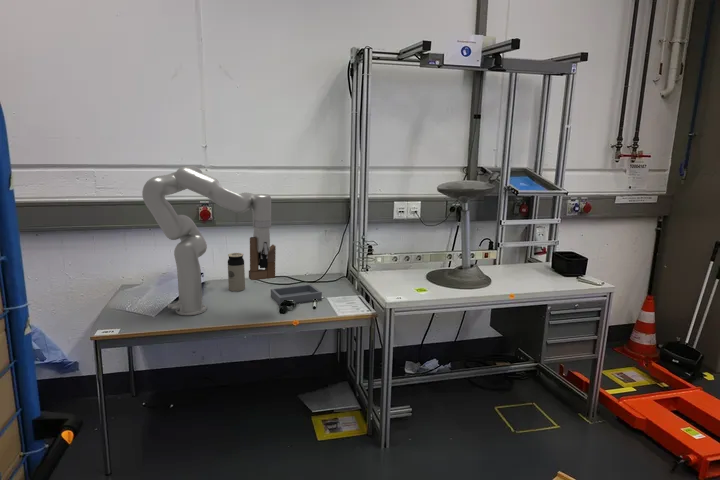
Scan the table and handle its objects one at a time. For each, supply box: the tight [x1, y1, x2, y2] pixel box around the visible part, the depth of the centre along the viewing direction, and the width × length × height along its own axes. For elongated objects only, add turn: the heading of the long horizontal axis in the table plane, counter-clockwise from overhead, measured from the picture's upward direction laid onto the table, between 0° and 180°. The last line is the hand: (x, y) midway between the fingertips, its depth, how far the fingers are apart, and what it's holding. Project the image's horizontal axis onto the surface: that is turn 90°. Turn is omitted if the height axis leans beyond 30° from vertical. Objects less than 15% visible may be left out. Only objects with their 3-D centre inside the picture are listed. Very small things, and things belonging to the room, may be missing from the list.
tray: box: [270, 283, 323, 306], centre depth 228 cm, size 20×14×4 cm
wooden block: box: [248, 236, 277, 281], centre depth 204 cm, size 4×11×18 cm, turn 120°
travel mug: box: [227, 252, 246, 292], centre depth 239 cm, size 8×8×18 cm
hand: (262, 266), depth 204 cm, fingers closed on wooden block, 3 cm apart
